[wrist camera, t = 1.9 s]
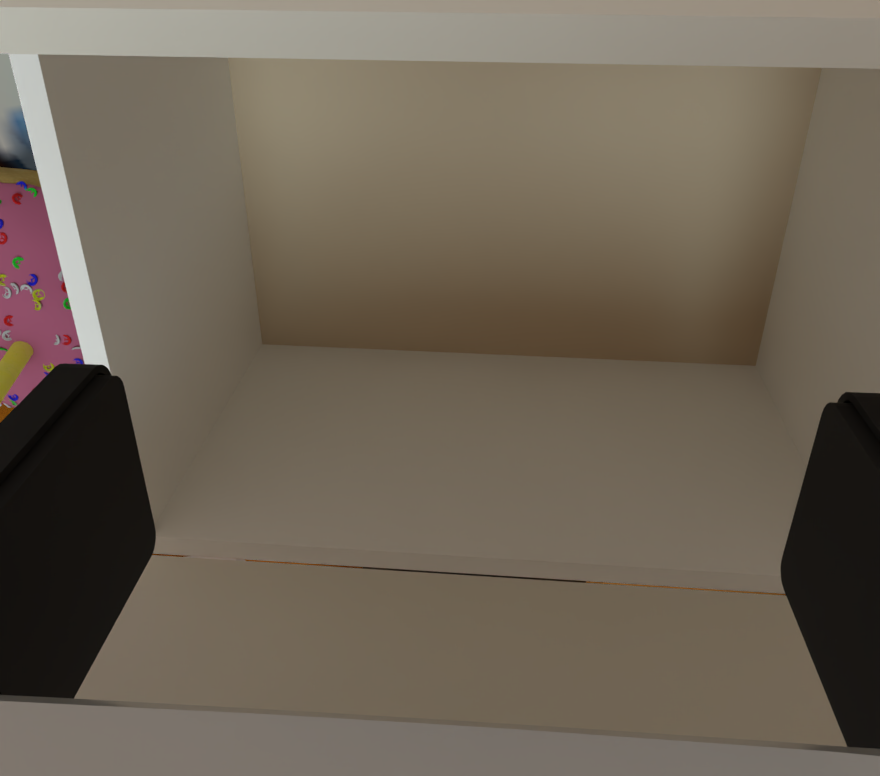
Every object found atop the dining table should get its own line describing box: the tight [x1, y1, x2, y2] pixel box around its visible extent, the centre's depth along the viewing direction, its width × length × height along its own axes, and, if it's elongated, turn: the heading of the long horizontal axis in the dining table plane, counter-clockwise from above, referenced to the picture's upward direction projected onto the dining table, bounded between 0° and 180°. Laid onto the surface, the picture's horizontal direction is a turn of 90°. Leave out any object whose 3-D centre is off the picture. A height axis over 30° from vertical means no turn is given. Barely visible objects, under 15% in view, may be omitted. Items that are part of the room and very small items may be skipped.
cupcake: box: [0, 167, 85, 408], centre depth 27 cm, size 9×8×12 cm
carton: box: [9, 54, 880, 594], centre depth 23 cm, size 20×18×12 cm
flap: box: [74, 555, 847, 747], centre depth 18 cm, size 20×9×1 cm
